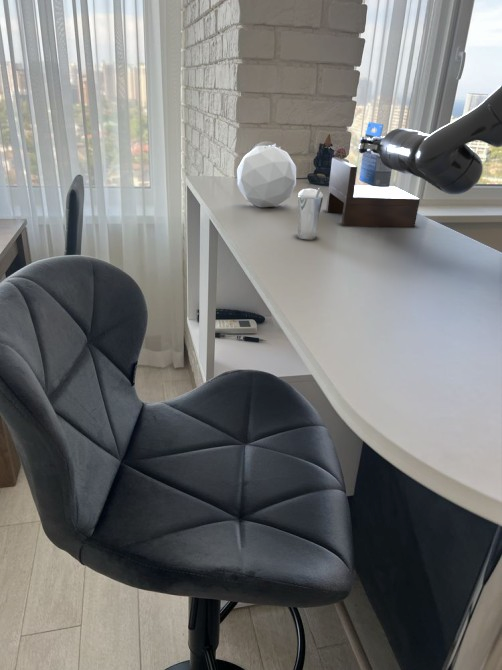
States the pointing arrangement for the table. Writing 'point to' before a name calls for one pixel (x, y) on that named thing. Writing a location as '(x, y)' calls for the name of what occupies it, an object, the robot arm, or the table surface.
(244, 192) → the geodesic sphere
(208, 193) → the table surface
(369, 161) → the label tape box
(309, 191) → the milkshake
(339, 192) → the l-shaped wooden block
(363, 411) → the table surface
